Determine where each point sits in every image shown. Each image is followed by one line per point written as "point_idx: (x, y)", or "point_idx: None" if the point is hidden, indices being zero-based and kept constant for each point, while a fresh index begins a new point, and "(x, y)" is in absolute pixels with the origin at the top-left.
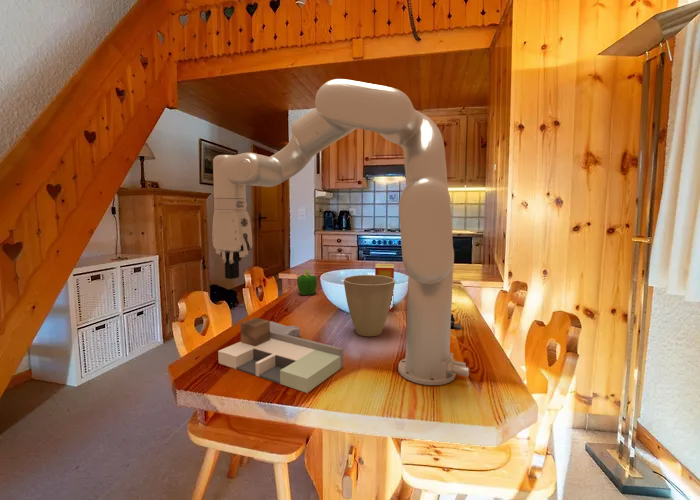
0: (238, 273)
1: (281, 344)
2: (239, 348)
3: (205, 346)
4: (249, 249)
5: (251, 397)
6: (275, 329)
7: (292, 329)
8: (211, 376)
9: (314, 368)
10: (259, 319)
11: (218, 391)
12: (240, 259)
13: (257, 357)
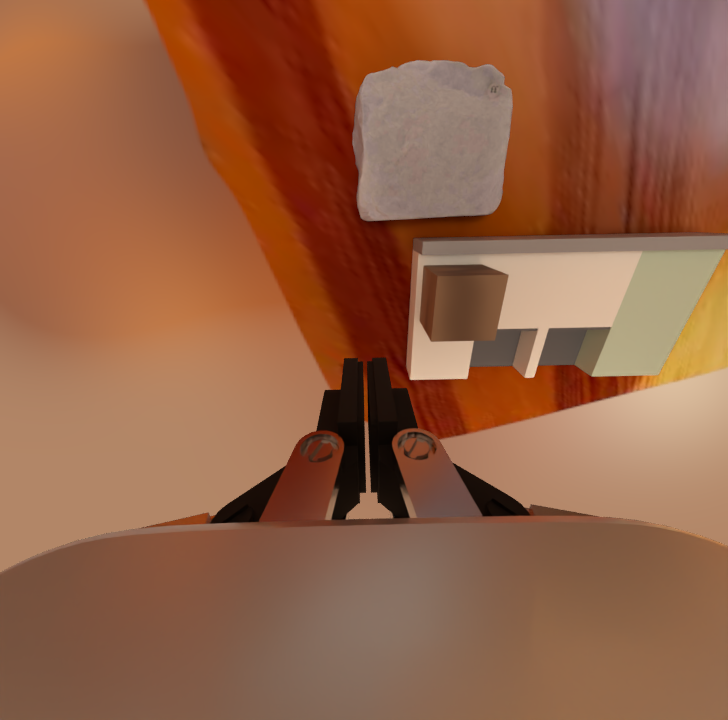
0: (406, 388)
1: (531, 272)
2: (443, 347)
3: (303, 327)
4: (672, 548)
5: (544, 410)
6: (447, 181)
7: (505, 137)
8: (436, 402)
9: (664, 336)
10: (465, 283)
11: (483, 423)
12: (468, 474)
13: None
